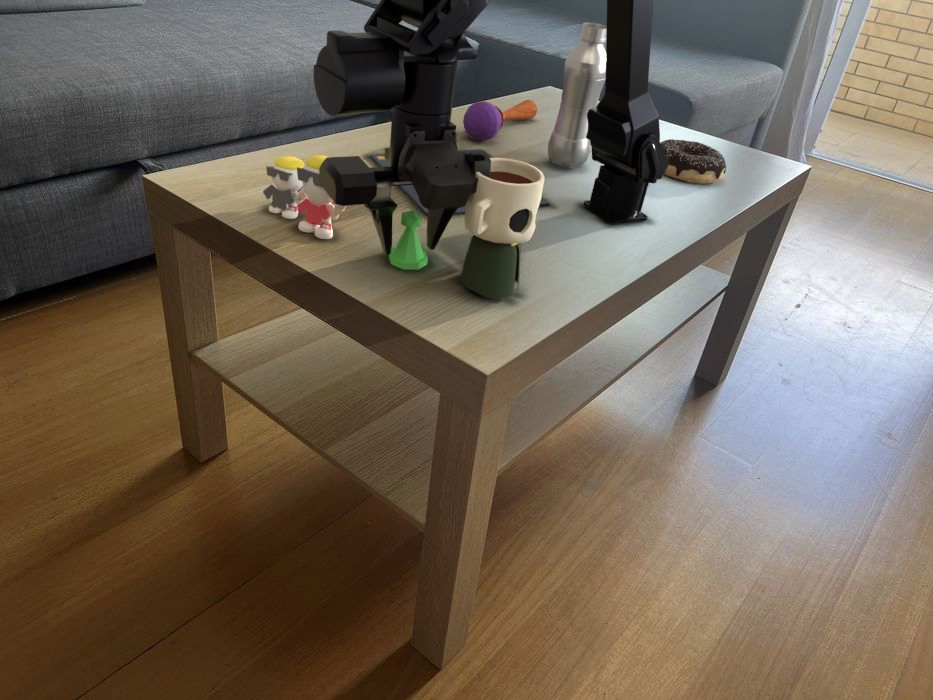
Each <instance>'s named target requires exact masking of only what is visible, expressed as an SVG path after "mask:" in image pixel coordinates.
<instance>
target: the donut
mask: <svg viewBox="0 0 933 700" xmlns="http://www.w3.org/2000/svg"><path fill="white" fill-rule="evenodd" d="M660 143H661V146H662V148H663V150H664V153H665V155H666V157H667V160H668V162H669V165H668V167H667V169H666V171H665V173H664V175H665V176H667V177H670V178H673V179H676V180H680V181H682V182H687V183H691V184H692V183H693V184H703V185H704V184H705V185H706V184H711V183H715V182H718V181H720V180H721V179H723V178H724V175H725V174H726V171H727V163H726V159H725V157H724V156H723V154H722V153H721V152H720V151H719V150H717V149H715V148H713V147H711V146H709V145H707V144H705V143H701V142H699V141H694V140H693V141H692V140H691V141H689V140H685V139H673V138H671V139H665V140H662V141H660Z"/></svg>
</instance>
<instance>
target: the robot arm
mask: <svg viewBox="0 0 933 700" xmlns="http://www.w3.org/2000/svg"><path fill="white" fill-rule="evenodd" d="M489 3H490V0H380V1H379V2H378V4H377V5H376V7H375V9H374V10H373V11H372V13H371V14H370V16H369V18H368V19H367V21H366V22H365V24H364V25H363V32H348V31H345V30H328V31H327V33H326V45H324V46H323V47H321V48H320V51H319V52H318V55H317V57H316V61H315V64H314V65H313V84H314V91H315V94H316V97H317V99H318V102H319V104H320V106H321V108H322V110H323V111H324V112H325V113H326V114H327V115H328V116H332V117H335V116H347V115H359V114H368V113H369V114H370V113H380V112H387V113H386V118H387V119H388V120H389V121H390V123H391V125H390V138H389V139H390V140H389V147H385V148H384V154H385V155H384V158H385V159H386V160H387V161H388V162H389V166H388V167H380V166H373V167H371V166H368V165H367V162H365V161H364V159H362V158H361V157H360V155H351V156H332V157H330V156H327V158H326V159H325V160H324V161H323V163H322V164H321V166H320V168H319V183H320V185H321V186H322V187H323V188H324V190H325V191H326V192H327V194H328V195H329V196H330V197H331V199H332V200H333V201H334V203H335V204H338V205H342V206H346V207H347V206H359V205H364V207H365V208H367V209H368V210H369V212H370V215H371V218H372V221H373V224H374V227H375V229H376V233H377V236H378V239H379V241H380V245H381V248H382V251H383V252H384V254H385V255H386V256H389V255H390V253H391V249H392V247H393V217H394V216H393V215H394V212H395V210H396V209H397V207H398V204H397V202H395V200H393V198H392V187H400V186H403V185H413V186H414V188H415V190H416V192H417V194H418V196H419V201H420V203H421V205H422V206H423V207H425V208H426V209H428V215H427V218H426V219H427V220H426V246H427V248H428V249H429V250H430V251H432V250H435V249H436V247H437V245H438V243H439V242H440V240H441V237H442V236H443V234H444V232H445V230H446V228H447V227H448V225H449V223H450V221H451V219H452V218H453V216H454V215H455V214H454V213H455V212H456V210H457V209H458V208H461V207H464V206H465V205H466V203H467V201H468V198H469V195H470V193H476V190H477V183H478V180H479V179H478V177H475V176H476V172H480V173H481V174H482V175H484V176H486V177H488V178H490V171H491V159H490V158H494V156H493V155H490V153H488V152H487V151H486V150H484V149H481V150H480V149H470V150H471V151H460V150H458V143H457V135H458V132H457V125H456V124H454V123H453V122H452V121H451V120H452V113H453V103H454V94H455V88H456V87H455V86H456V78H457V70H458V62H459V61H470V60H476V59H477V58H478V54H479V53H478V52H477V50H476V49H475V48H474V46H473V45H471V43H470V42H469V41H468V39H467V37H466V34H465V32H466V31H467V30H468V29H469V27H470V26H472V24H473V22H474V21H475V20H476V19H477V18H478V17H479V16H480V14H481V13H482V12H483V11H484V10H485V9H486V7H487V6H488V5H489ZM653 12H654V0H606V26H607V32H606V42H605V52H606V80H605V83H604V85H605V86H604V87H605V88H604V94H603V95H602V97H601V99H600V100H599V101H598V104H597V106H596V108H593V109H590V110H589V111H588V113H587V119H588V132H587V135H586V138H587V139H589V140H590V144H591V160H592V161H594V162H597V163H600V164H602V165H600V167H599V171H598V174H597V177H595V179H594V183H593V187H592V191H591V195H590V199H588V200H583V206H584V207H586V208H587V209H588V210H590V211H591V212H592V213H594V214H595V215H597V216H598V217H599V218H601V219H602V220H603V221H605V222H606V223H607V224H610V225H617V224H624V223H625V224H626V223H634V222H645V221H648V218H649V216H648V215H647V214H645V213H644V212H643V211H642V208H643V205H644V202H645V199H646V194H647V191H648V187H649V184H656V183H657V181H658V180H661V179H663V177H664V175H665V174H664V173H665V171H666V169H667V167H668V165H669V162H668V160H667V157H666V155H665V153H664V150H663V148H662V146H661V131H660V116H659V113H658V110H657V109H656V107H655V104H654V102H653V100H652V98H651V96H650V94H649V75H650V74H649V73H650V60H651V59H650V58H651V44H652V43H651V42H652V30H653V29H652V25H653ZM401 22H404V23H405V24H408V25H411V26H413V27H415V28H417V30H414V29H412V28H411V27H410V28H409V27H407V26H405V25H403V24H401ZM472 165H473V166H472Z"/></svg>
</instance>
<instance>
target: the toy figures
mask: <svg viewBox="0 0 933 700" xmlns="http://www.w3.org/2000/svg"><path fill="white" fill-rule="evenodd" d="M327 157H328V155H321V154H316V155H311V156H309V157H308V158H307V159H306V160H305V163H304V161H303V160H301V159H300V158H298V157H294V156H280V157H278V158H276V159H275V160H274V165H273V166H267V165H266V167H265V169H266V175H267V176H268V177H271V181H272V182H273V184H274V185H273V184H270V185H269V186H267V187H266V188H265V189H264V190H263V191H262V193H263V195H264V196H265V198H266V200H270V199H272V200H271V203H270V205H269V206H268V211H269V212H270V213H272V214H281V217H282V218H283V219H287V220H292V219H293V220H294V219H296V218H298V215H299V213H300V214H301V215H302V214H304V213H306V216H305V219H304V220H301V221H300V222H299V223H298V230H299V231H300V232H303V233H314V236H315V237H316V238H318V239H321V240H330V239H332V238H333V236H334V234H333V233H334V231H333V226H332V225H333V224H332V221H336V220H338V219H339V217H340V214H342V213H344V212H345V211H346V208H347V206H342V205H338V204H335V203H334V201H333V200H332V199H331V197H330V196H329V195H328V194H327V192H326V191H325V190H324V188H323V187H322V186H321V185H320V183H319V168H320V166H321V164H322V163H323V161H324V160H325V159H326V158H327Z"/></svg>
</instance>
